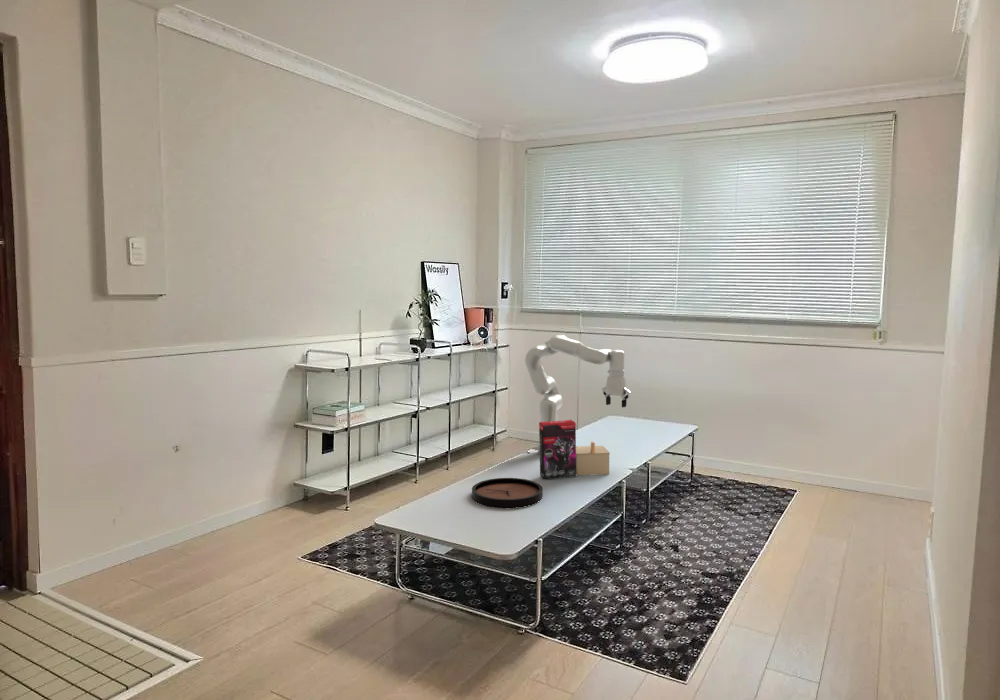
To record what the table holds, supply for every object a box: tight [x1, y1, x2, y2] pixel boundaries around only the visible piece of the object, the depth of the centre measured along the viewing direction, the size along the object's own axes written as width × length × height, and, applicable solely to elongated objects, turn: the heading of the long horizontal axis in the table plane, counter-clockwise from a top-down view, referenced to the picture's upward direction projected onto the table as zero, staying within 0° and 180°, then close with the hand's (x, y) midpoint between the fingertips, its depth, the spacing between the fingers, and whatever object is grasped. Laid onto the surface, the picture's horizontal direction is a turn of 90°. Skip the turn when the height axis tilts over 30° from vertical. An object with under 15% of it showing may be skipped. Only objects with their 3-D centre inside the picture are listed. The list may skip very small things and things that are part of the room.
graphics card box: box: [538, 419, 577, 481], centre depth 327 cm, size 17×7×27 cm, turn 105°
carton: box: [576, 454, 610, 476], centre depth 338 cm, size 16×14×10 cm
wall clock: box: [471, 477, 544, 509], centre depth 300 cm, size 31×4×31 cm
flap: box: [576, 441, 611, 455], centre depth 337 cm, size 16×14×6 cm
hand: (616, 405), depth 355 cm, fingers open, 9 cm apart
